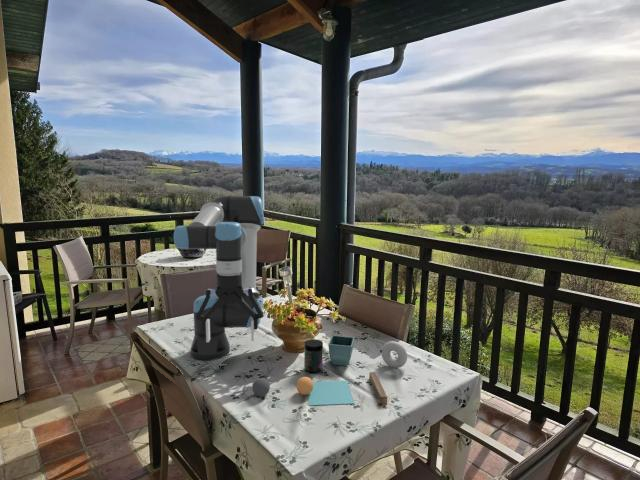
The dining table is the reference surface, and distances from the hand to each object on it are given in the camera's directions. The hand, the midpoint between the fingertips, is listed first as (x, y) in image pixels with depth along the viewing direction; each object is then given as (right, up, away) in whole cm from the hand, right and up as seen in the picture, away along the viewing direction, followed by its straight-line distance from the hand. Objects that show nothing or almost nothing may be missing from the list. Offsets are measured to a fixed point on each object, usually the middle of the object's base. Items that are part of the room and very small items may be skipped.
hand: (230, 340), depth 121 cm
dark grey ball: (+9, -16, +3) cm, 19 cm away
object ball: (+23, -16, +4) cm, 28 cm away
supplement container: (+25, -17, +21) cm, 37 cm away
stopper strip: (+47, -19, +7) cm, 51 cm away
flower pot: (+36, -16, +27) cm, 48 cm away
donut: (+55, -16, +24) cm, 62 cm away
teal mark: (+31, -19, +5) cm, 36 cm away
